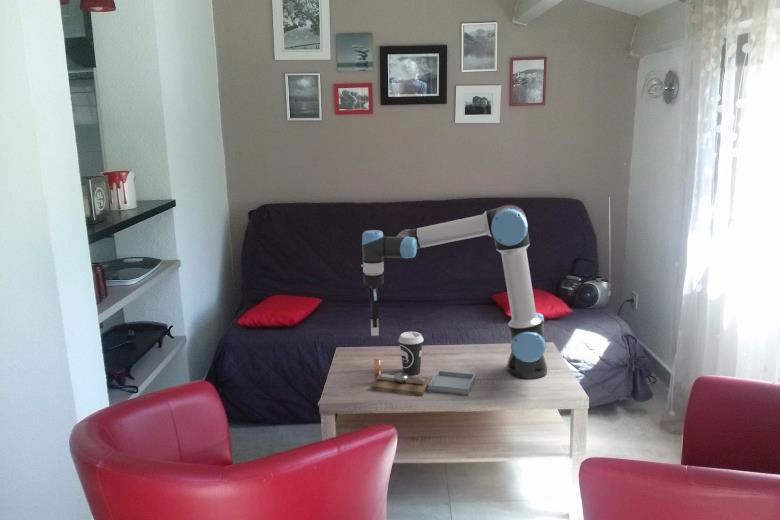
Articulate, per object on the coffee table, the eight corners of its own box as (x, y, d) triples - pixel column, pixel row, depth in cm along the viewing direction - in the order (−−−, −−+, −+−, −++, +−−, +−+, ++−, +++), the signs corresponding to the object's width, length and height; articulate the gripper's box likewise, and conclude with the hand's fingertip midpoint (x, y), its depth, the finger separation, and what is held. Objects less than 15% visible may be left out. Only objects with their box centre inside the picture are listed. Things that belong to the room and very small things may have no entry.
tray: (476, 380, 233) (476, 373, 233) (467, 395, 220) (467, 389, 220) (438, 376, 238) (438, 370, 238) (427, 391, 225) (427, 384, 224)
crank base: (432, 381, 233) (432, 378, 233) (422, 396, 221) (422, 392, 221) (383, 376, 239) (383, 372, 239) (371, 390, 227) (371, 386, 227)
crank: (426, 380, 230) (426, 362, 228) (423, 385, 225) (422, 367, 224) (377, 375, 236) (376, 357, 234) (372, 380, 231) (371, 362, 230)
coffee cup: (422, 377, 237) (421, 339, 234) (397, 376, 239) (396, 338, 236) (425, 368, 246) (425, 331, 243) (401, 367, 248) (400, 330, 245)
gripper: (361, 269, 236) (363, 329, 241) (364, 277, 223) (366, 341, 228) (381, 268, 237) (383, 328, 242) (385, 276, 224) (386, 340, 229)
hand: (374, 334), depth 235 cm, fingers closed
